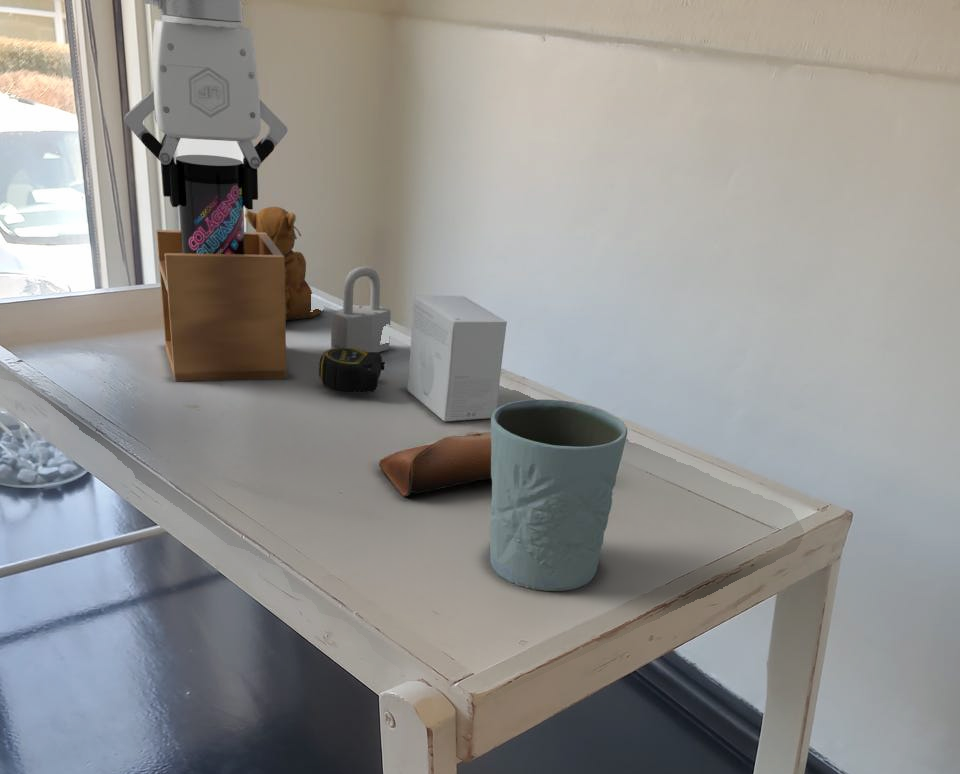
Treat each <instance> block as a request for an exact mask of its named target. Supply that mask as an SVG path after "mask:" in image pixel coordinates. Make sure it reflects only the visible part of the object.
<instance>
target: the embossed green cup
mask: <svg viewBox="0 0 960 774" xmlns="http://www.w3.org/2000/svg"><path fill="white" fill-rule="evenodd" d="M490 432H491V478H492V479H491V503H490V507H491V515H492V518H491V523H490V525H489V560H490V564H491V567H492V569H493V570H494V572H495V573H496V574H497V575H498V576H499V577H500V578H502V579H504V580H506V581H507V582H509V583H511V584H515V585H516V586H519V587H525V588H526V589H531V590H535V591H544V592H545V591H546V592H559V591H560V592H565V591H571V590H576V589H579V588H581V587H584V586H586V585H587V584H589V583H590V582H591V581H592V580H593V578H594V577H595V575H596V573H597V569H598V565H599V561H600V557H601V552H602V549H603V545H604V538H605V531H606V529H607V526H608V522H609V518H610V517H609V516H610V513H611V510H612V506H613V491H614V490H613V489H614V488H615V486H616V483H617V475H618V473H619V469H620V465H621V461H622V458H623V453H624V450H625V445H626V442H627V438H628V427H627V426H626V424H625V422H624V421H623V420H622V419H620V418H619V417H617V416H615V415H614V414H611V413H610V412H608V411H606V410H604V409H602V408H599V407H597V406H593V405H589V404H585V403H581V402H580V403H579V402H576V401H575V402H574V401H569V400H561V399H560V400H559V399H524V400H518V401H517V400H516V401H512V402H509V403H506V404H503V405H500V406H499V407H497V409H496V410H495V411H494V412H493V415H492V417H491V418H490Z"/></svg>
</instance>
